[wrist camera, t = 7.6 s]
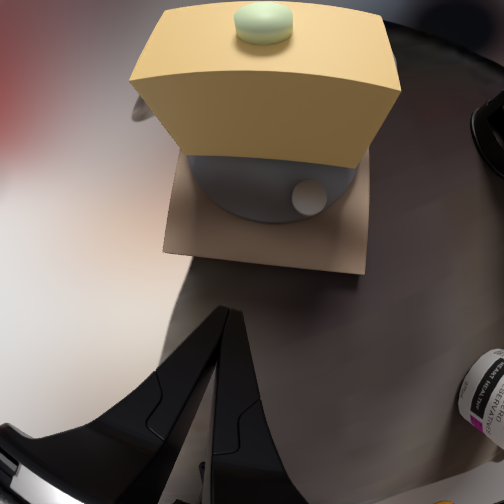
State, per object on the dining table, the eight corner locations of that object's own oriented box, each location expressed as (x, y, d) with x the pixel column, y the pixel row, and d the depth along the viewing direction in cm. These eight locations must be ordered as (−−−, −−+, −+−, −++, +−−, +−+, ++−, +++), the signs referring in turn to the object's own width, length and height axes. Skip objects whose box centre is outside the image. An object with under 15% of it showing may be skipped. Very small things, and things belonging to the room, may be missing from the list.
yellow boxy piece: (362, 169, 18) (419, 80, 8) (179, 155, 19) (111, 70, 9) (359, 102, 18) (393, 5, 8) (195, 91, 20) (152, 1, 10)
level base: (359, 274, 22) (374, 274, 18) (169, 253, 24) (148, 249, 20) (359, 76, 23) (367, 52, 19) (207, 67, 25) (197, 43, 21)
